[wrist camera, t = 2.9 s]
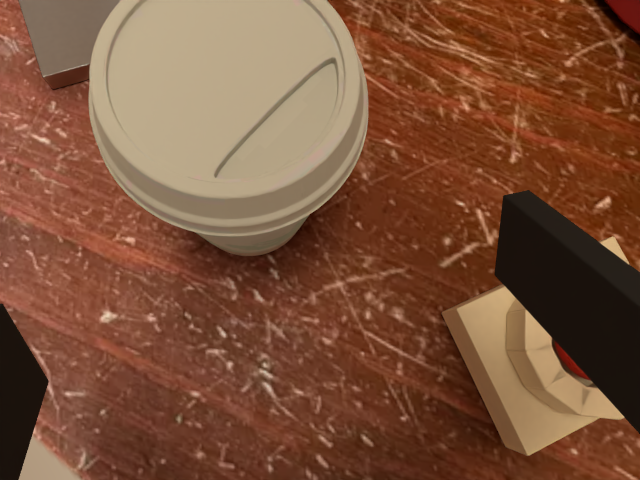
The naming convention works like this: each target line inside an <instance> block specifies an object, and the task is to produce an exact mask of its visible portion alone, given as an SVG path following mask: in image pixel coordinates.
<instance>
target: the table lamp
mask: <svg viewBox="0 0 640 480" xmlns="http://www.w3.org/2000/svg"><path fill="white" fill-rule="evenodd" d="M604 1H605V2H606V3H607V4H608V6H609V7H610V8H611V9H612V10H613V12H614V13H615V14H616V15H617V16H618V17H619V19H620V20H621V21H622V22H623V23H625V24H626V25H627V26H629V27H630V28H631V29H632V30H634V31H635V32H636V33H638V34H639V35H640V0H604Z"/></svg>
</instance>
